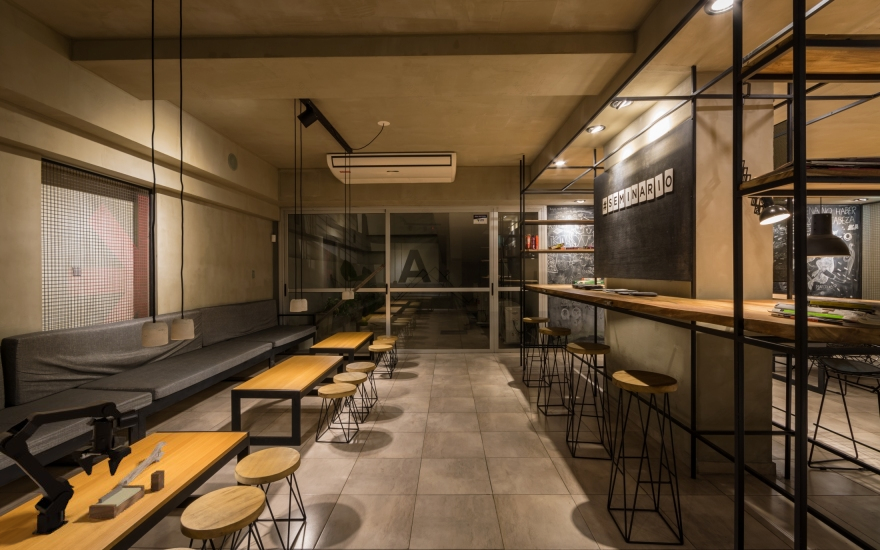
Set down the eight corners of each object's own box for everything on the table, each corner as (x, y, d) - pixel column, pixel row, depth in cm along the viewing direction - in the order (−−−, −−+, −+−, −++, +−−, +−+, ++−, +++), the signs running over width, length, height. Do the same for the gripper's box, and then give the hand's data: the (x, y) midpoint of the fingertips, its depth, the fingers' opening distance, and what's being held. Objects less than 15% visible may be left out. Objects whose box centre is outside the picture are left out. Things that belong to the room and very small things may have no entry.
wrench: (118, 495, 154) (163, 454, 184) (123, 495, 154) (167, 454, 184) (117, 477, 153) (162, 439, 183) (122, 477, 153) (166, 438, 183)
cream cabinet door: (116, 506, 135) (116, 500, 135) (93, 507, 135) (93, 500, 135) (141, 489, 147) (141, 483, 147) (119, 489, 147) (119, 484, 147)
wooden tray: (113, 518, 134) (114, 506, 134) (88, 518, 134) (89, 506, 134) (144, 496, 148) (144, 485, 148) (121, 496, 148) (121, 485, 148)
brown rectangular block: (158, 491, 151) (158, 474, 152) (150, 491, 151) (150, 474, 152) (164, 487, 155) (164, 470, 155) (156, 487, 155) (156, 470, 155)
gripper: (143, 426, 150) (142, 465, 149) (99, 425, 151) (97, 465, 150) (119, 437, 139) (117, 479, 138) (71, 436, 139) (69, 478, 139)
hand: (101, 475), depth 141 cm, fingers open, 9 cm apart
